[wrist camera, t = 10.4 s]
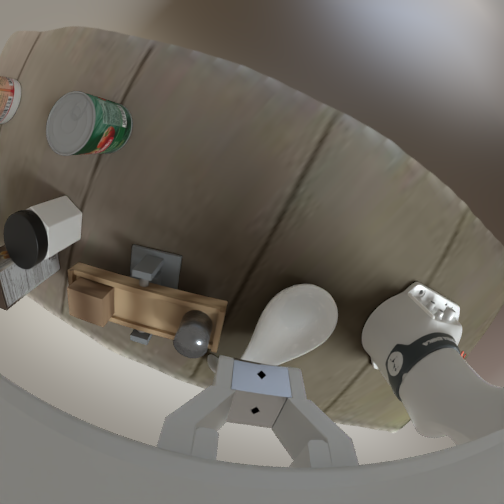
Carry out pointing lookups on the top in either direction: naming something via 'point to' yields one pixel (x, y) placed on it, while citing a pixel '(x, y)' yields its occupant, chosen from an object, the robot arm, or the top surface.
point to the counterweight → (193, 334)
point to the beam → (152, 303)
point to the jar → (42, 231)
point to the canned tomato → (87, 125)
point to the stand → (153, 274)
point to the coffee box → (22, 277)
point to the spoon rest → (290, 326)
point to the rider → (91, 301)
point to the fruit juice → (9, 98)
